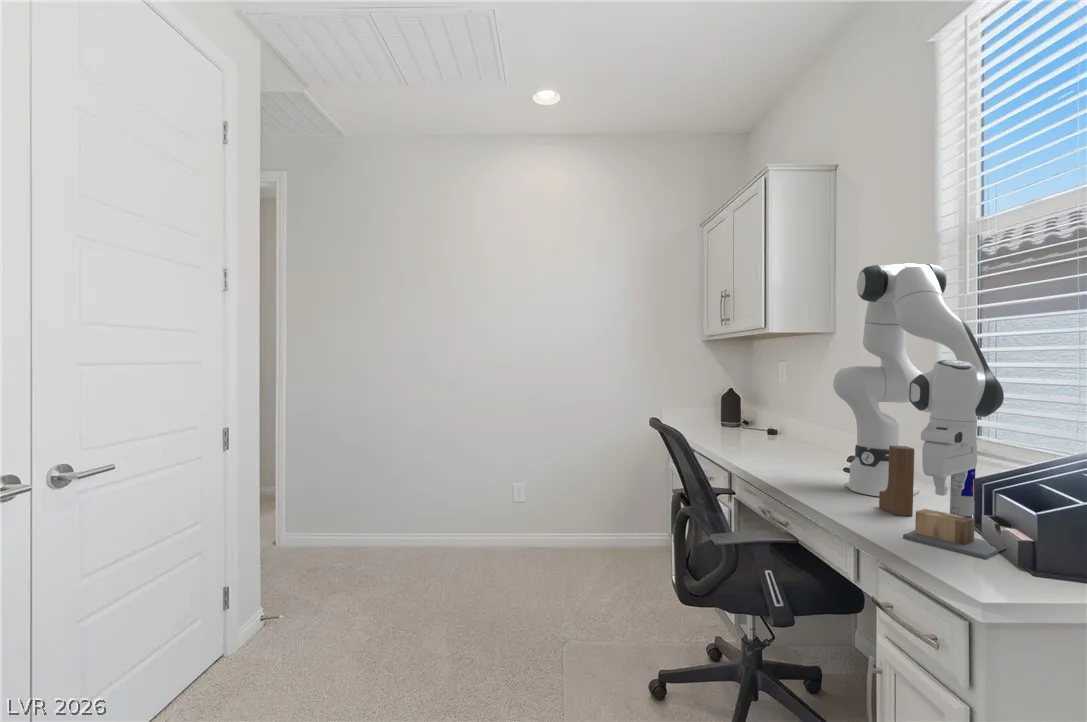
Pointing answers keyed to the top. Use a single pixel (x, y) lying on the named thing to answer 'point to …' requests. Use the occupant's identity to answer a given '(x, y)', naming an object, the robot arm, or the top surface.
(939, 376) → the robot arm
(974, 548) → the desk mat
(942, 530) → the oak block
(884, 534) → the top surface
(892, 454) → the wooden block
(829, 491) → the top surface
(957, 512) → the beverage can
